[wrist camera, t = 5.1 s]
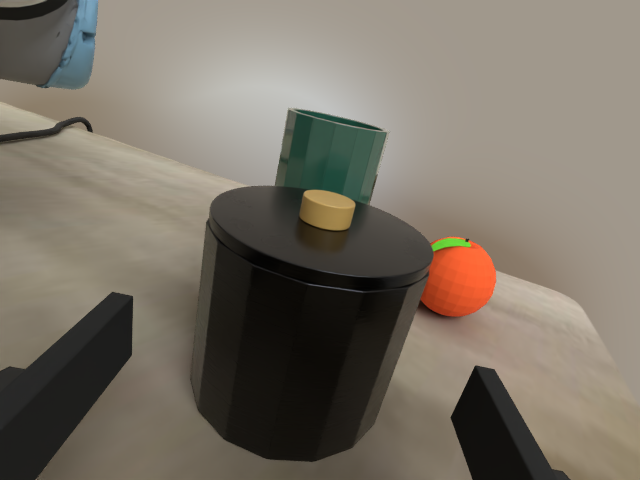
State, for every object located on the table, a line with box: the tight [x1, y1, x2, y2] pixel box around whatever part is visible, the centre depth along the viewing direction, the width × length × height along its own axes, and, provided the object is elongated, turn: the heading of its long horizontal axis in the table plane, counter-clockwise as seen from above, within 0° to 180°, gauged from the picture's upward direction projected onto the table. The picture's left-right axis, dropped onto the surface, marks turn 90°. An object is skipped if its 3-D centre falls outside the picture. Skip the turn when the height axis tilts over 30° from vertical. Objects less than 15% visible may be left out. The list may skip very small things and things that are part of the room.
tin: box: [275, 108, 389, 205], centre depth 32 cm, size 8×8×14 cm
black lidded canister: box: [191, 186, 434, 462], centre depth 20 cm, size 11×11×11 cm
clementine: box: [420, 237, 496, 317], centre depth 32 cm, size 8×7×7 cm
